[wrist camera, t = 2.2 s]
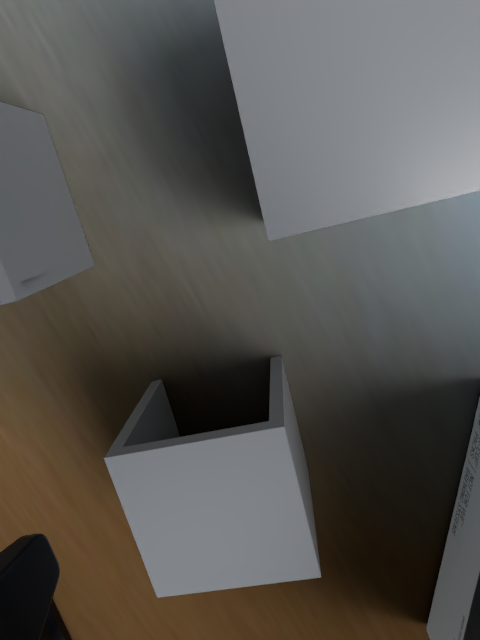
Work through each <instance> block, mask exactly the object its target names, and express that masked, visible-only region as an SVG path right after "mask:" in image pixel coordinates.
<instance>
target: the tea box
mask: <svg viewBox="0 0 480 640" xmlns="http://www.w3.org/2000/svg"><path fill="white" fill-rule="evenodd" d="M426 630H427V633H428V636H429V639H430V640H480V398H479V402H478V406H477V411H476V415H475V420H474V425H473V429H472V433H471V437H470V442H469V446H468V451H467V455H466V459H465V463H464V468H463V472H462V476H461V481H460V485H459V489H458V494H457V498H456V502H455V507H454V511H453V515H452V519H451V524H450V528H449V532H448V537H447V541H446V545H445V549H444V554H443V558H442V562H441V567H440V571H439V575H438V580H437V584H436V588H435V593H434V597H433V602H432V606H431V611H430V615H429V619H428V623H427V629H426Z"/></svg>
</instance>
